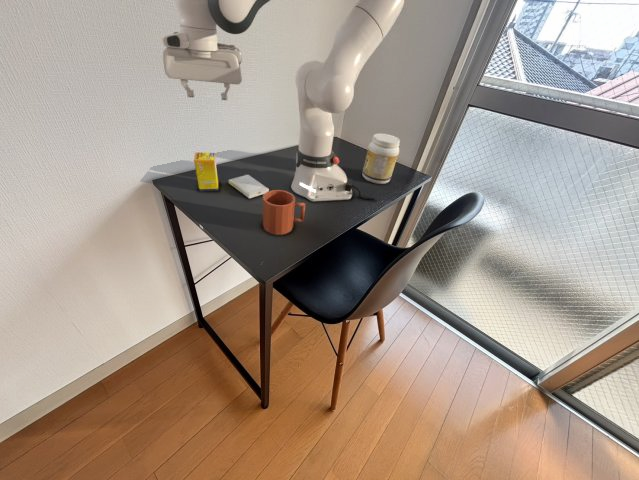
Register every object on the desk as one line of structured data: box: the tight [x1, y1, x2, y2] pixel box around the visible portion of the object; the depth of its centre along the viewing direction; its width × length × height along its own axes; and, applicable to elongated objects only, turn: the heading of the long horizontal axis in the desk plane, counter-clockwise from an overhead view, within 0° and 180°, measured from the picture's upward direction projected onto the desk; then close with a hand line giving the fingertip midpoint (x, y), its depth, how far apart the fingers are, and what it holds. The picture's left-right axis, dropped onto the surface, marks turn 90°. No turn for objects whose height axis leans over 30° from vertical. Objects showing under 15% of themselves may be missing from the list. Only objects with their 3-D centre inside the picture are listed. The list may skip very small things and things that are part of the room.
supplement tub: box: [361, 132, 401, 185], centre depth 109 cm, size 12×12×17 cm
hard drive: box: [228, 174, 270, 199], centre depth 94 cm, size 2×8×12 cm
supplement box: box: [193, 151, 219, 192], centre depth 89 cm, size 6×6×11 cm
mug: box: [262, 189, 306, 236], centre depth 77 cm, size 12×9×10 cm
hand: (208, 98), depth 81 cm, fingers open, 8 cm apart
